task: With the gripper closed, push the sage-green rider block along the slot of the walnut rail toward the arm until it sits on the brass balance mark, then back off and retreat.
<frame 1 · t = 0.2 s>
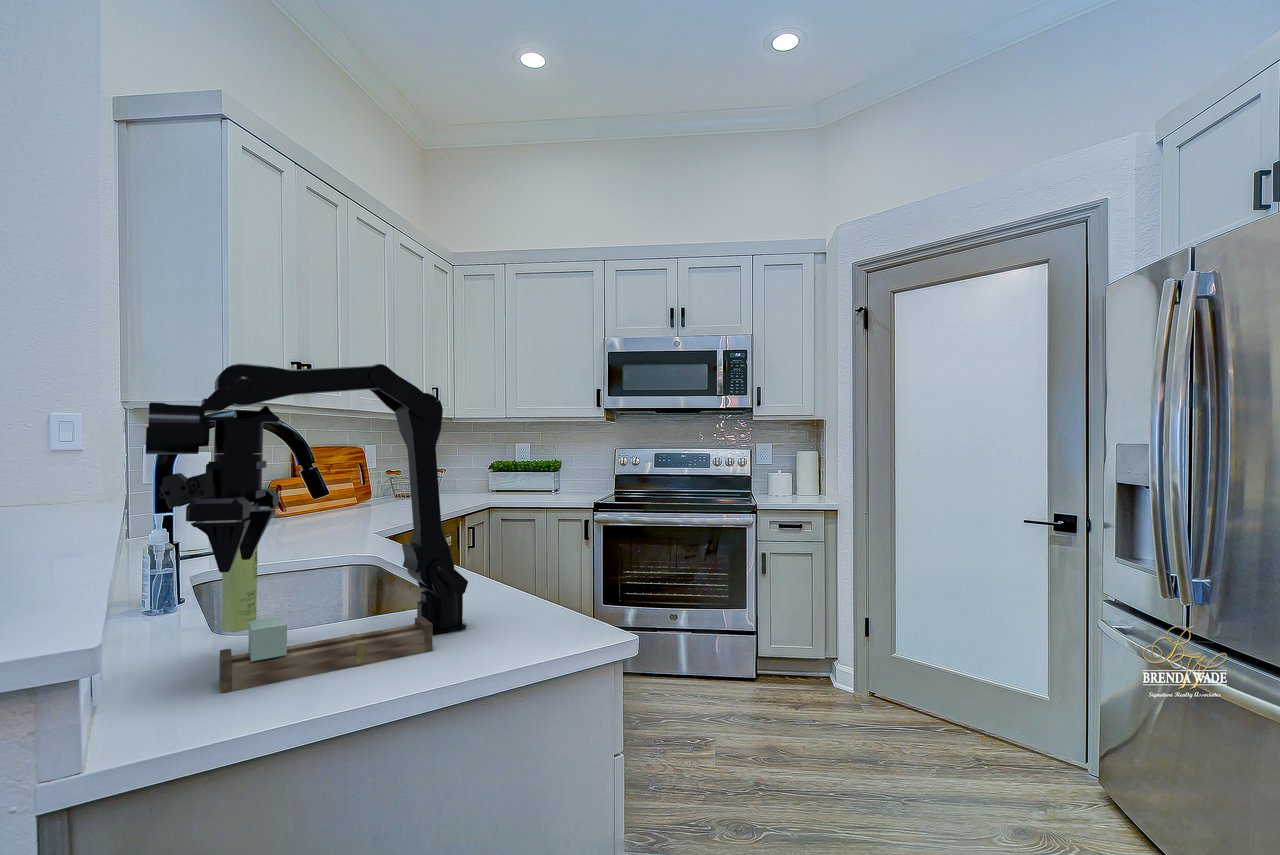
hand: (235, 565, 84), 14 cm above the worktop, fingers open, 9 cm apart
tube: (237, 629, 102), on the worktop
rider: (267, 643, 81), point 4 cm above the worktop, slide at 8.0 cm
rail: (333, 664, 86), on the worktop
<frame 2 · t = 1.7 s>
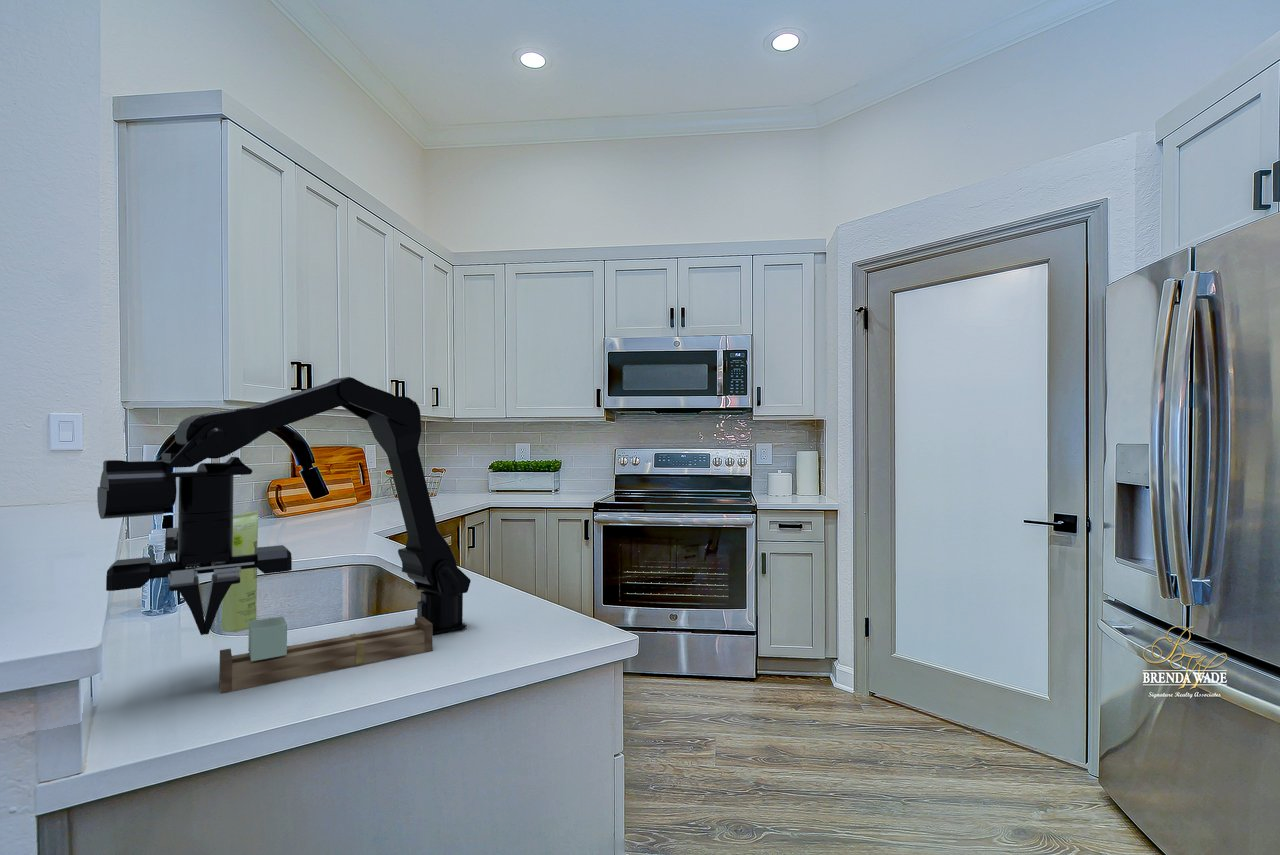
hand: (204, 633, 77), 7 cm above the worktop, fingers closed
nothing on the worktop moved.
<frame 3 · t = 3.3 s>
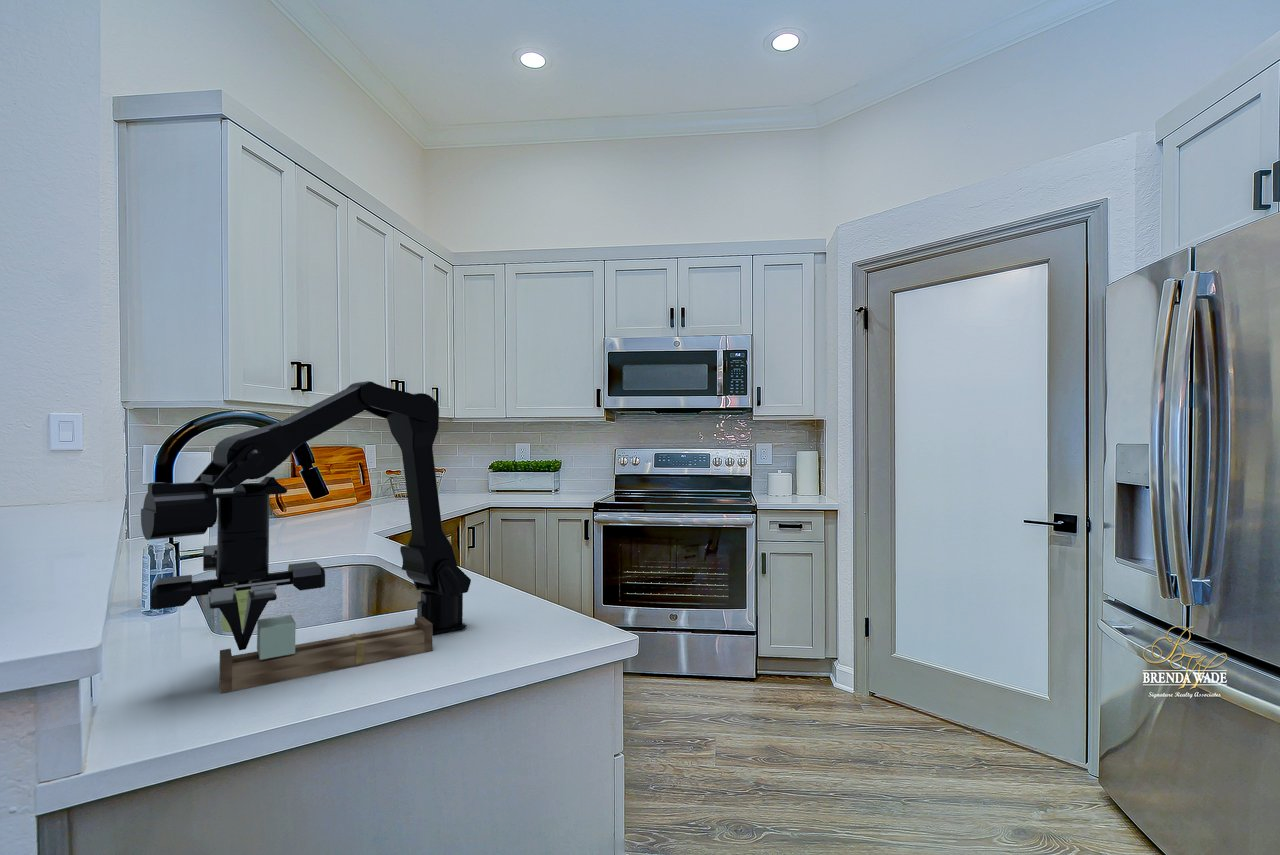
hand: (242, 649, 79), 4 cm above the worktop, fingers closed
rider: (275, 642, 82), point 4 cm above the worktop, slide at 7.0 cm, touching gripper
everything else where it was.
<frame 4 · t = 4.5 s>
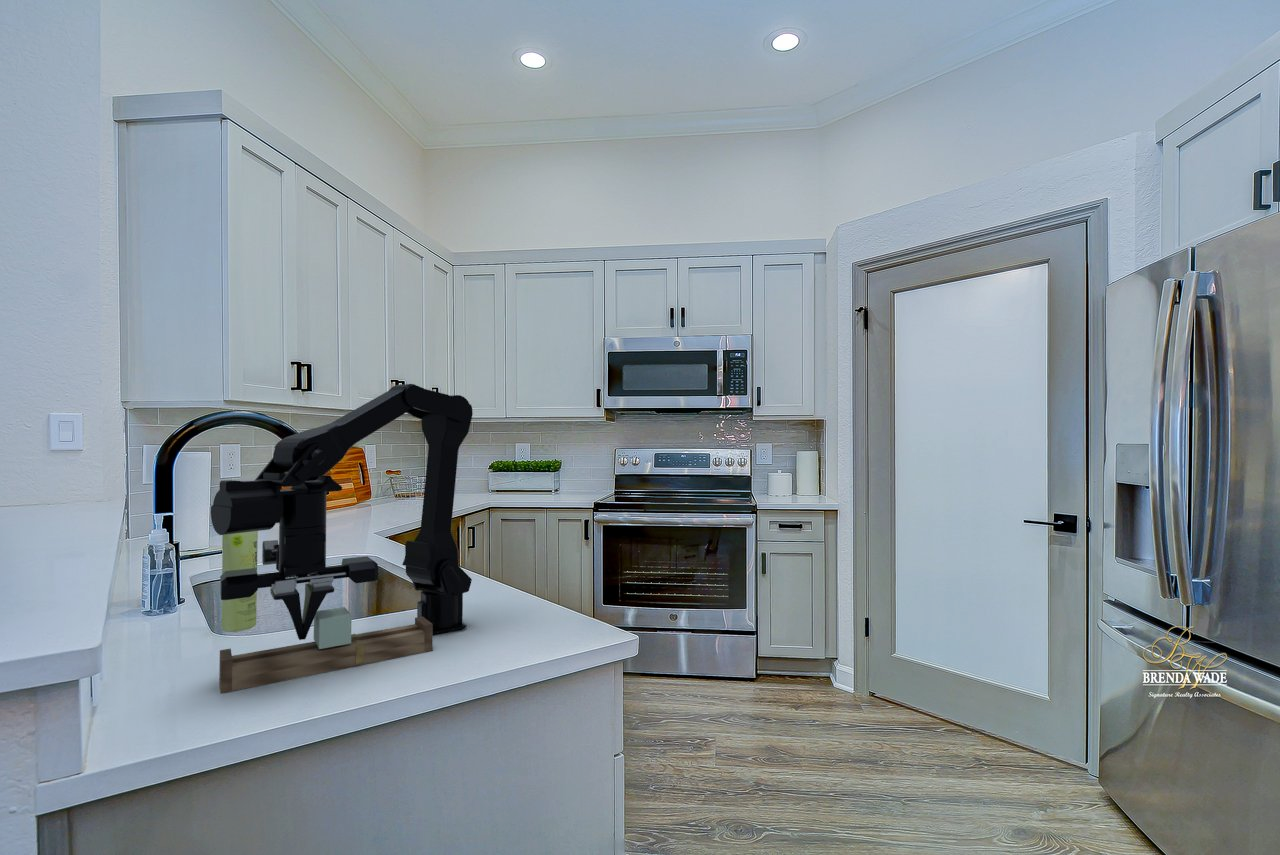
hand: (301, 638, 83), 4 cm above the worktop, fingers closed
rider: (332, 632, 86), point 4 cm above the worktop, slide at 0.1 cm, touching gripper
everything else where it was.
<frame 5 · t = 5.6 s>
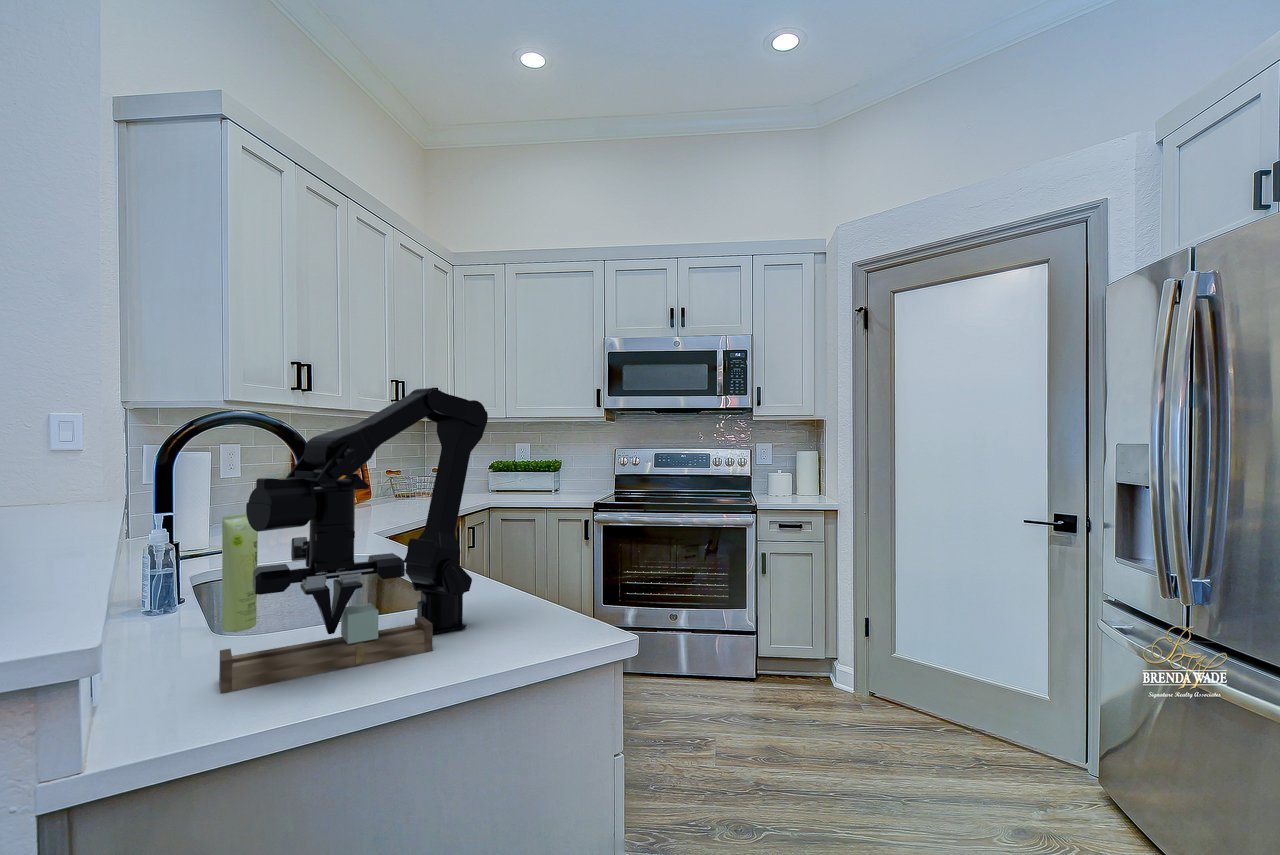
hand: (330, 633, 86), 4 cm above the worktop, fingers closed
rider: (359, 628, 88), point 4 cm above the worktop, slide at -3.4 cm, touching gripper
everything else where it was.
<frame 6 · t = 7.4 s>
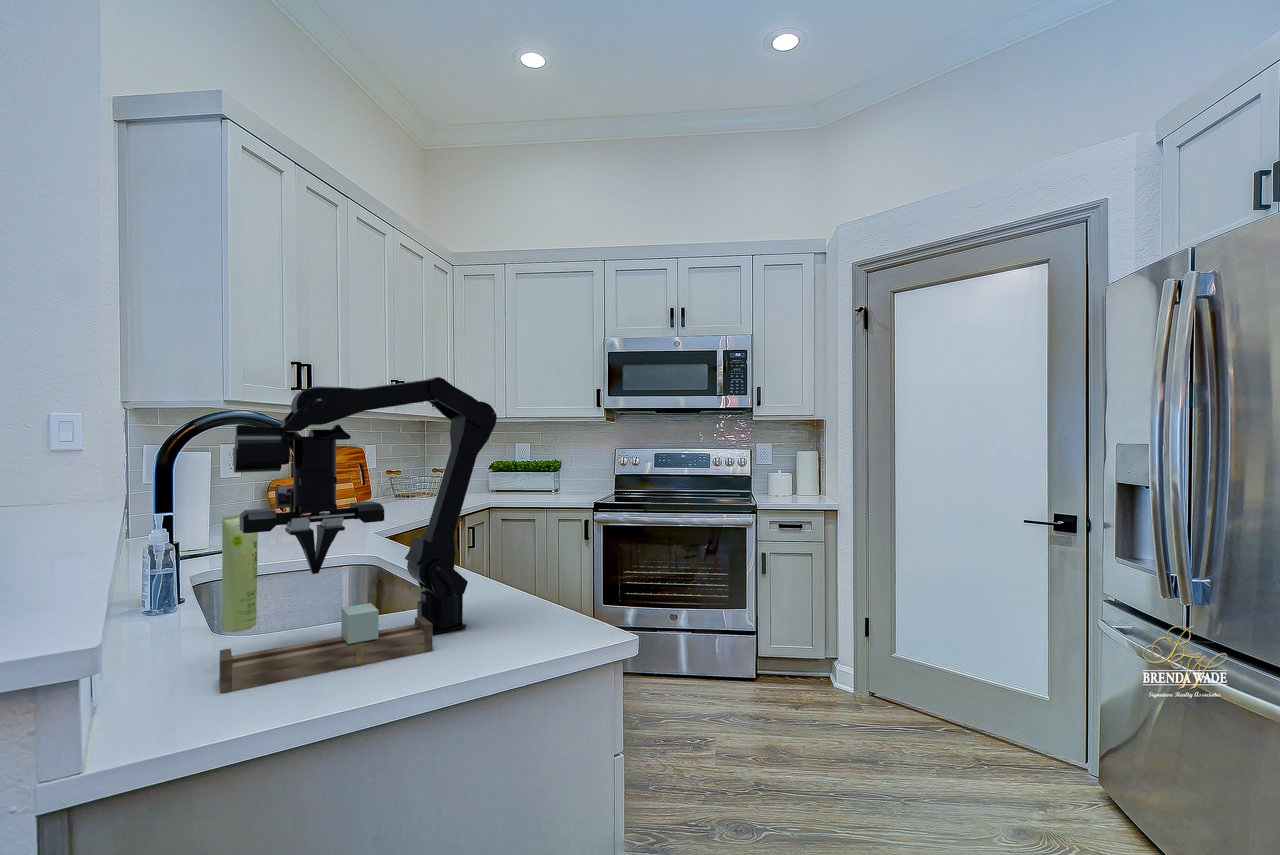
hand: (315, 573, 91), 12 cm above the worktop, fingers closed
rider: (359, 628, 88), point 5 cm above the worktop, slide at -3.5 cm
everything else where it was.
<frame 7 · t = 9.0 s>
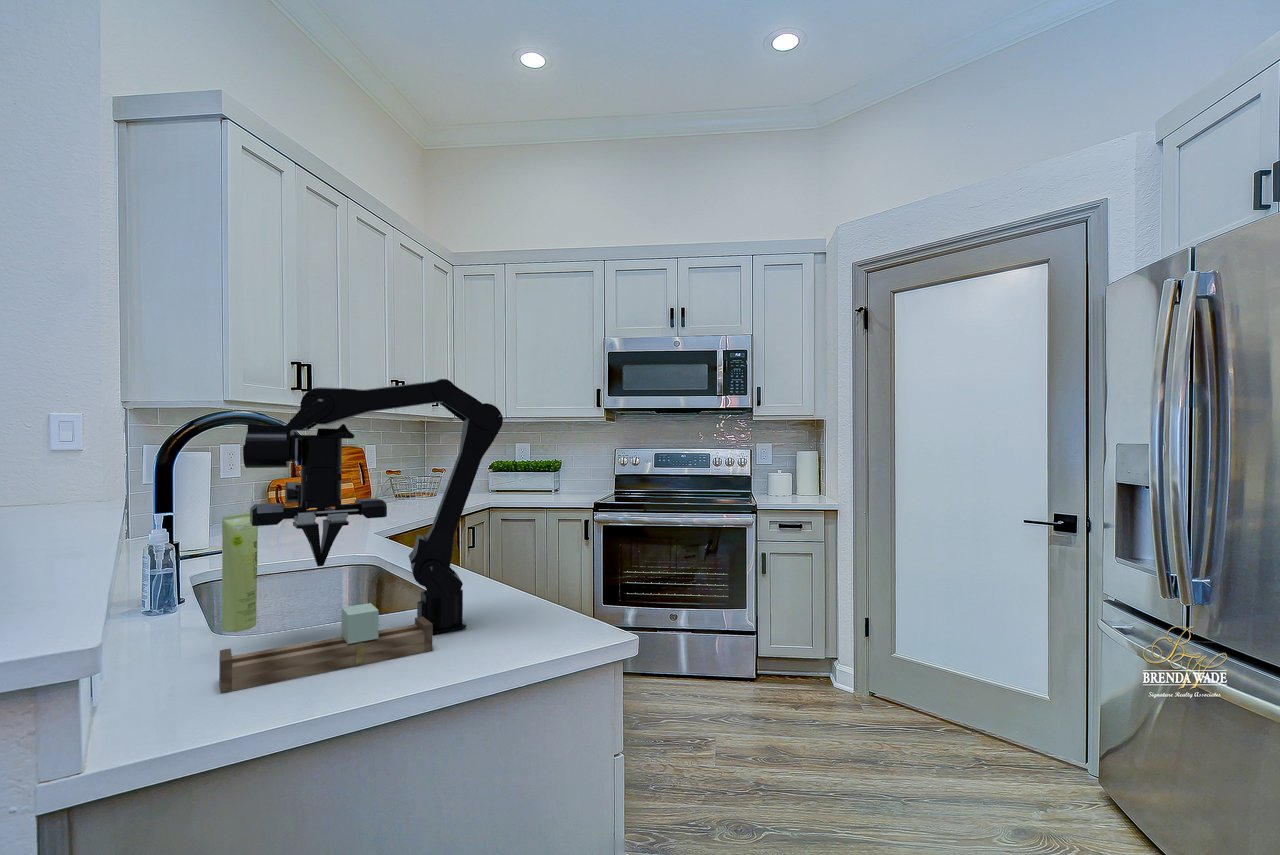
hand: (320, 565, 96), 12 cm above the worktop, fingers closed
nothing on the worktop moved.
at the end: rider slide at -3.5 cm; the gripper is holding nothing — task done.
